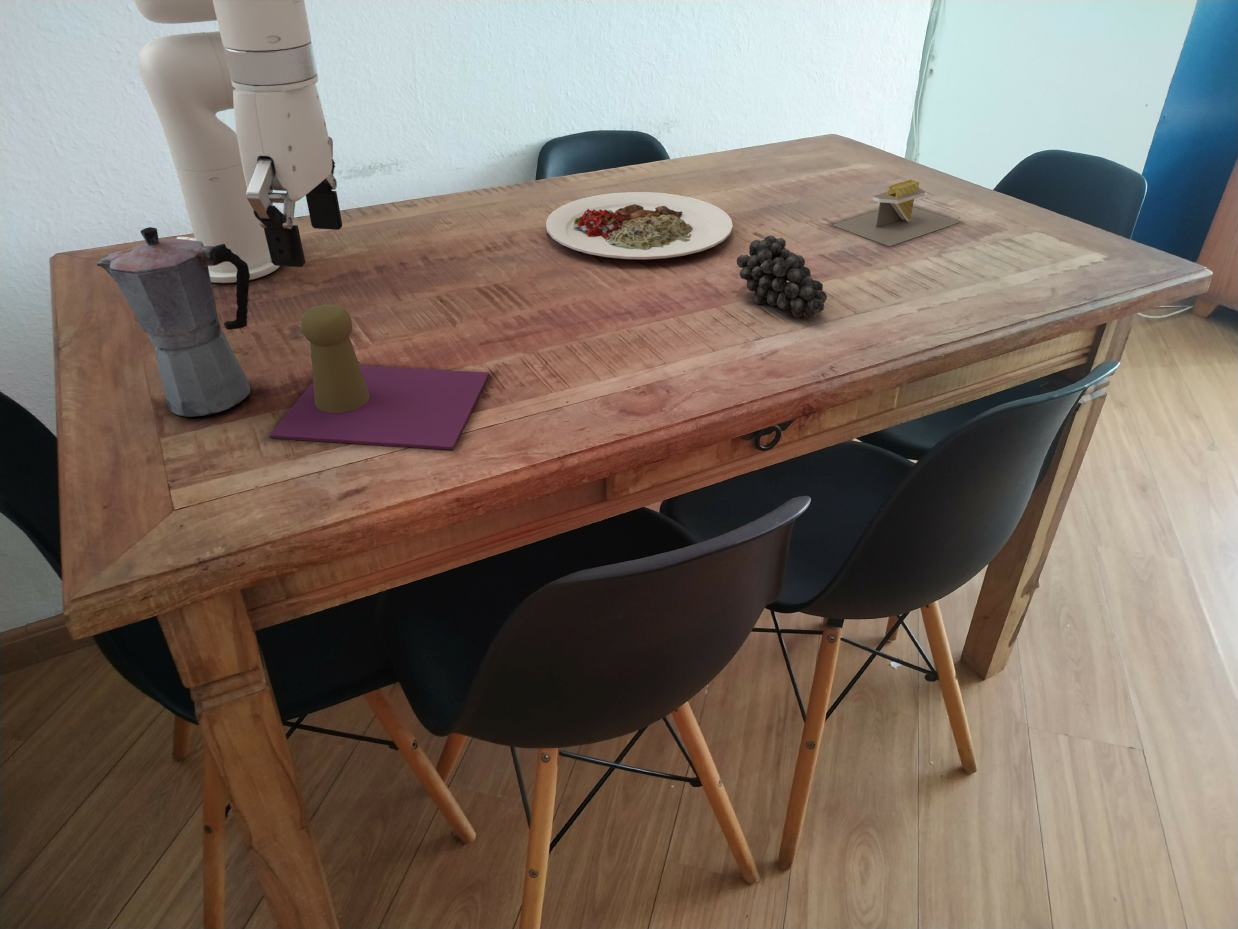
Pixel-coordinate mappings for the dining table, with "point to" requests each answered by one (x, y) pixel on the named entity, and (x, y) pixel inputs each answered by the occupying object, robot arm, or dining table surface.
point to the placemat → (392, 410)
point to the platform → (896, 217)
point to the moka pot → (185, 319)
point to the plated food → (639, 225)
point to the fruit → (781, 278)
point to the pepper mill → (334, 360)
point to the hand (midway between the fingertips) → (309, 245)
